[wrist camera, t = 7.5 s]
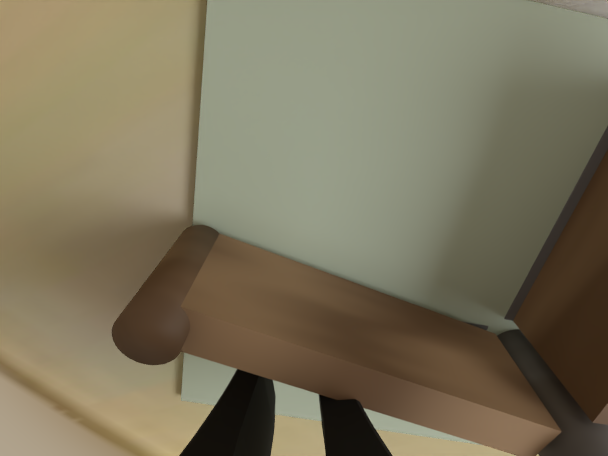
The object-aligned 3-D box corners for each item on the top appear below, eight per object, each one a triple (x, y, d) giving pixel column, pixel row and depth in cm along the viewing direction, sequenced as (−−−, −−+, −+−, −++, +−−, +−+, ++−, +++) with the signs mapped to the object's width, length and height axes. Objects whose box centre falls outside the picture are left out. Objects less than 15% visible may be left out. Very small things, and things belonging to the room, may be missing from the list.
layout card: (831, 72, 9) (844, 72, 9) (548, 450, 15) (551, 456, 15) (214, -71, 8) (211, -74, 8) (182, 395, 14) (180, 401, 14)
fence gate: (497, 331, 12) (578, 448, 8) (473, 360, 12) (539, 482, 9) (185, 218, 10) (118, 300, 7) (174, 256, 11) (106, 352, 7)
